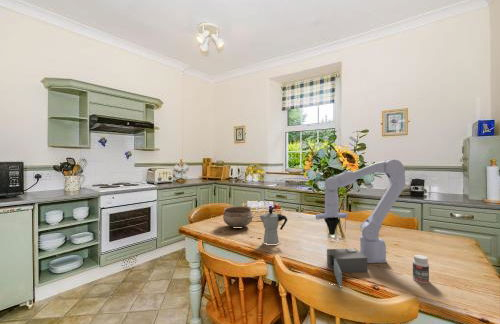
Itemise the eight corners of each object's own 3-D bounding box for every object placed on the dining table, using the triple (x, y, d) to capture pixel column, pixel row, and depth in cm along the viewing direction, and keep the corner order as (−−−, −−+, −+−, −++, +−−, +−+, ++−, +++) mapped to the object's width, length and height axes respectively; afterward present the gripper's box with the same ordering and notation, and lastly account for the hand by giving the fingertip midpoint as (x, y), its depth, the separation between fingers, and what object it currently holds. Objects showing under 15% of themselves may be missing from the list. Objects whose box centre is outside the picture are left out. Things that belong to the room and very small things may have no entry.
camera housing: (354, 260, 103) (354, 246, 103) (367, 271, 93) (367, 256, 93) (324, 261, 103) (324, 247, 103) (334, 272, 93) (334, 257, 93)
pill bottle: (414, 282, 85) (414, 258, 85) (411, 276, 89) (411, 253, 89) (431, 284, 83) (430, 260, 83) (426, 278, 88) (426, 255, 88)
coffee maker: (258, 245, 123) (257, 210, 123) (259, 240, 132) (259, 206, 132) (288, 246, 121) (287, 210, 121) (287, 240, 130) (287, 207, 130)
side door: (342, 287, 81) (341, 272, 81) (339, 287, 81) (339, 272, 81) (336, 272, 93) (335, 258, 93) (333, 271, 93) (333, 258, 93)
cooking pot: (213, 227, 158) (213, 208, 158) (233, 221, 173) (233, 204, 173) (242, 234, 142) (242, 213, 142) (262, 227, 157) (262, 208, 157)
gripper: (320, 206, 105) (321, 238, 105) (351, 205, 107) (351, 235, 107) (313, 203, 112) (313, 233, 112) (342, 202, 114) (342, 231, 114)
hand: (331, 234), depth 110 cm, fingers closed
